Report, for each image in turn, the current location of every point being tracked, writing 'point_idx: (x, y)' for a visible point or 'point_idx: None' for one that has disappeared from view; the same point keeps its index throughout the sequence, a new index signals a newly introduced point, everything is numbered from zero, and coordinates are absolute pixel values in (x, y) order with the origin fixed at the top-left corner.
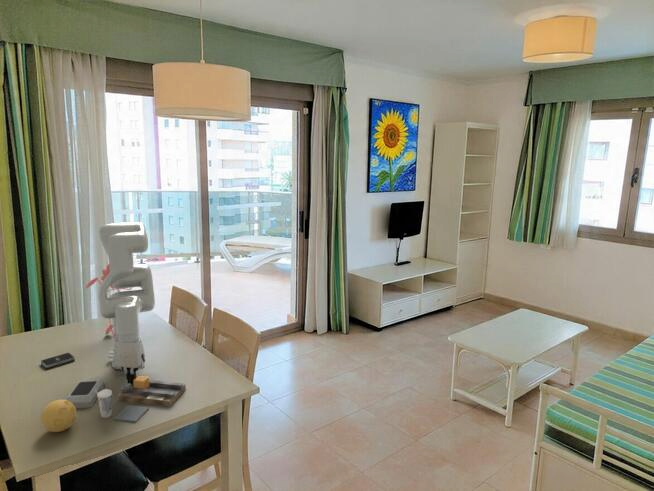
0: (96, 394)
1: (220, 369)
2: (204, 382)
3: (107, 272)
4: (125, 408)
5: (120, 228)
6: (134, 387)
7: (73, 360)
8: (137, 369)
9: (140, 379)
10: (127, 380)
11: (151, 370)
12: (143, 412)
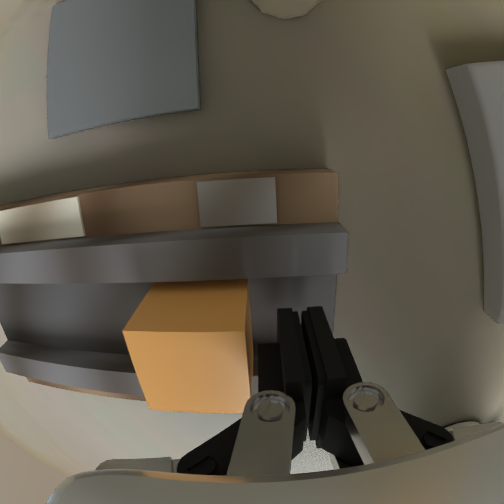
0: (490, 180)
1: (64, 468)
2: (32, 408)
3: None
4: (186, 68)
5: None
6: (240, 289)
7: None
8: (181, 458)
9: (180, 359)
10: (322, 323)
11: (311, 465)
12: (48, 83)
